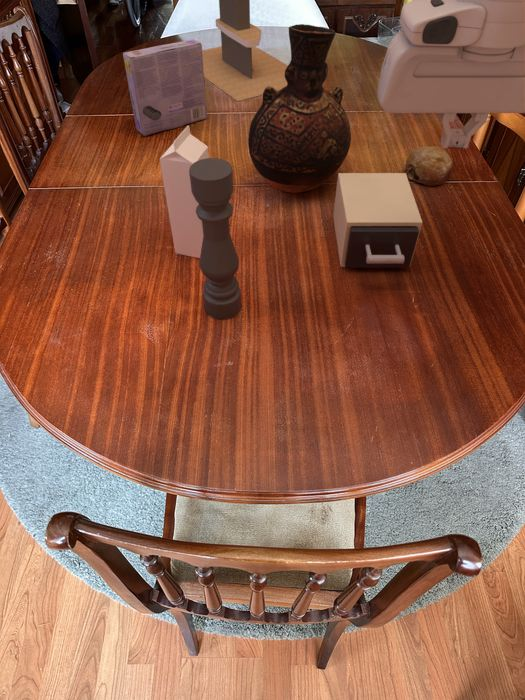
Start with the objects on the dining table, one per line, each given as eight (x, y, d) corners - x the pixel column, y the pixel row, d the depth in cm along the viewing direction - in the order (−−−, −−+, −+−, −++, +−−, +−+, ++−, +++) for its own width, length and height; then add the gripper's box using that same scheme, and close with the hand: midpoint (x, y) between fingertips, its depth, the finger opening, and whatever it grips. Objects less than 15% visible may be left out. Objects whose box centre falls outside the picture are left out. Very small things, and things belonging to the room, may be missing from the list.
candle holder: (238, 291, 87) (231, 155, 69) (244, 317, 83) (237, 179, 65) (202, 296, 87) (185, 159, 68) (206, 321, 83) (188, 183, 64)
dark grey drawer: (413, 284, 87) (424, 247, 81) (347, 284, 87) (353, 247, 81) (395, 219, 100) (403, 184, 94) (337, 219, 100) (342, 184, 94)
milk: (175, 253, 94) (154, 139, 78) (187, 235, 98) (170, 121, 81) (205, 259, 93) (191, 144, 76) (217, 240, 97) (206, 126, 80)
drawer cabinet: (410, 267, 92) (422, 222, 84) (340, 267, 92) (347, 222, 84) (395, 216, 102) (405, 172, 94) (333, 216, 102) (338, 172, 95)
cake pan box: (203, 110, 133) (196, 35, 120) (212, 118, 130) (206, 41, 117) (135, 130, 126) (120, 52, 113) (143, 138, 124) (129, 59, 110)
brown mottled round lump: (397, 185, 116) (393, 160, 109) (425, 152, 117) (424, 126, 110) (433, 202, 111) (432, 178, 104) (463, 169, 112) (464, 142, 105)
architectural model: (313, 80, 145) (319, -1, 130) (237, 101, 137) (234, 17, 122) (245, 40, 167) (243, -33, 152) (176, 56, 158) (166, -20, 143)
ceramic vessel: (256, 211, 103) (253, 49, 80) (243, 167, 114) (237, 14, 92) (355, 201, 105) (380, 40, 83) (333, 159, 117) (350, 7, 94)
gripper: (582, 5, 53) (530, 133, 64) (387, 5, 53) (367, 133, 64) (609, 25, 49) (548, 159, 59) (397, 26, 49) (374, 159, 60)
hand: (453, 146), depth 62 cm, fingers closed
